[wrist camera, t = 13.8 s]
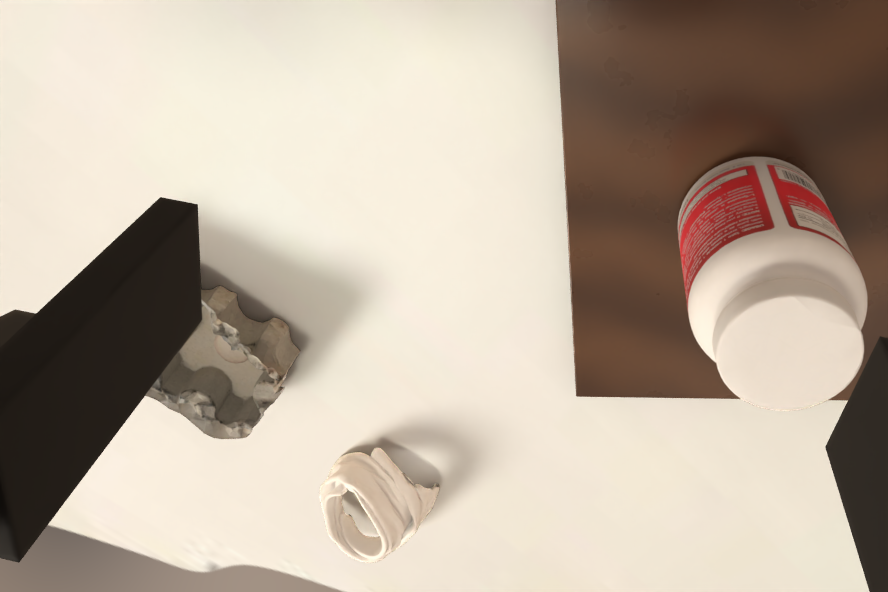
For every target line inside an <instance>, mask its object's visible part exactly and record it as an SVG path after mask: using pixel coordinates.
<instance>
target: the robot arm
mask: <svg viewBox="0 0 888 592" xmlns="http://www.w3.org/2000/svg"><path fill="white" fill-rule="evenodd" d="M201 321H202V299H201V275H200V251H199V226H198V204H192V203H187V202H182V201H177V200H172V199H167V198H161V197H160V198H159V199H158V200H157V201H156V202H155V203H154V204H153V205H152V206H151V207H150V208H149V209H147V210H146V211H145V212H144V213H143V214H142V215H141V216H140V217H139V218H138V219H137V220H136V221H135V222H134V223H133V224H131V225H130V226H129V227H128V228H127V229H126V230H125V231H124V232H123V233H122V234H121V235H120V236H119V237H118V238H117V239H115V240H114V241H113V242H112V243H111V244H110V245H109V246H108V247H107V248H106V249H105V250H104V251H103V252H102V253H101V254H99V255H98V256H97V257H96V258H95V259H94V260H93V261H92V262H91V263H90V264H89V265H88V266H87V267H86V268H85V269H83V270H82V271H81V272H80V273H79V274H78V275H77V276H76V277H75V278H74V279H73V280H72V281H71V282H70V283H69V284H67V285H66V286H65V287H64V288H63V289H62V290H61V291H60V292H59V293H58V294H57V295H56V296H55V297H54V298H53V299H51V300H50V301H49V302H48V303H47V304H46V305H45V306H44V307H43V308H42V309H41V310H40V311H39V312H38V313H37V314H34V313H29V312H24V311H20V310H13V311H11V312H9V313H7V314H5V315H3V316H1V317H0V558H2V559H6V560H11V561H15V562H20V560H21V559H22V558H23V557H24V555H25V554H26V553H27V551H28V550H29V549H30V547H31V546H32V545H33V543H34V542H35V541H36V539H37V538H38V537H39V535H40V534H41V533H42V531H43V530H44V529H45V527H46V526H47V525H48V524H49V522H50V521H51V520H52V518H53V517H54V516H55V514H56V513H57V512H58V510H59V509H60V508H61V506H62V505H63V504H64V502H65V501H66V500H67V498H68V497H69V496H70V494H71V493H72V492H73V490H74V489H75V488H76V486H77V485H78V484H79V482H80V481H81V480H82V478H83V477H84V476H85V474H86V473H87V472H88V470H89V469H90V468H91V466H92V465H93V464H94V463H95V461H96V460H97V459H98V457H99V456H100V455H101V453H102V452H103V451H104V449H105V448H106V447H107V445H108V444H109V443H110V441H111V440H112V439H113V437H114V436H115V435H116V433H117V432H118V431H119V429H120V428H121V427H122V425H123V424H124V423H125V421H126V420H127V419H128V417H129V416H130V415H131V413H132V412H133V411H134V409H135V408H136V407H137V405H138V404H139V403H140V402H141V400H142V399H143V398H144V396H145V395H146V394H147V392H148V391H149V390H150V388H151V387H152V386H153V384H154V383H155V382H156V380H157V379H158V378H159V376H160V375H161V374H162V372H163V371H164V370H165V368H166V367H167V366H168V364H169V363H170V362H171V360H172V359H173V358H174V356H175V355H176V354H177V352H178V351H179V350H180V348H181V347H182V346H183V344H184V343H185V342H186V340H187V339H188V338H189V337H190V335H191V334H192V333H193V331H194V330H195V329H196V327H197V326H198V325H199V323H200V322H201ZM826 451H827V454H828V457H829V460H830V464H831V467H832V470H833V473H834V477H835V480H836V483H837V486H838V490H839V493H840V496H841V499H842V503H843V506H844V509H845V513H846V516H847V519H848V522H849V526H850V529H851V532H852V535H853V539H854V542H855V545H856V548H857V552H858V555H859V558H860V561H861V565H862V568H863V571H864V574H865V578H866V581H867V584H868V588H869V591H870V592H888V338H886V337H881V336H880V337H879V339H878V341H877V343H876V345H875V347H874V349H873V351H872V353H871V355H870V357H869V359H868V361H867V363H866V366H865V368H864V370H863V372H862V374H861V376H860V378H859V380H858V382H857V384H856V386H855V388H854V390H853V392H852V394H851V396H850V398H849V400H848V402H847V404H846V406H845V408H844V410H843V412H842V414H841V416H840V418H839V420H838V422H837V424H836V426H835V428H834V430H833V432H832V435H831V437H830V439H829V441H828V443H827V445H826Z"/></svg>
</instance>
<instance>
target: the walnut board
mask: <svg viewBox="0 0 888 592" xmlns="http://www.w3.org/2000/svg"><path fill="white" fill-rule="evenodd" d="M556 17H557V36H558V55H559V75H560V94H561V113H562V132H563V151H564V171H565V190H566V209H567V228H568V248H569V267H570V286H571V305H572V324H573V344H574V363H575V382H576V396H579V397H650V398H721V399H741V398H739V397H738V396H736V395H735V394H734V393H733V392H732V391H731V390H730V389H729V388H728V387H727V386H726V384H725V383H724V381H723V380H722V378H721V376H720V373H719V371H718V368H717V363H716V362H714V361H713V360H712V359H711V358H710V357H709V356H708V355H707V354H706V353H705V352H704V351H703V349H702V348H701V347H700V345H699V344H698V342H697V340H696V338H695V336H694V334H693V331H692V328H691V325H690V321H689V316H688V310H687V300H686V293H685V285H684V278H683V270H682V263H681V255H680V247H679V239H678V217H679V212H680V209H681V206H682V203H683V201H684V199H685V197H686V195H687V194H688V192H689V190H690V189H691V188H692V187H693V185H694V184H695V183H696V182H697V181H698V180H699V179H700V178H701V177H702V176H703V175H704V174H706V173H707V172H708V171H710V170H712V169H713V168H715V167H717V166H719V165H721V164H723V163H726V162H729V161H731V160H735V159H739V158H744V157H770V158H776V159H779V160H782V161H785V162H788V163H790V164H792V165H794V166H796V167H797V168H799V169H800V170H802V171H803V172H804V173H806V174H807V175H808V176H809V177H810V178H811V179H812V181H813V182H814V183H815V185H816V186H817V188H818V189H819V191H820V192H821V194H822V196H823V198H824V200H825V202H826V204H827V206H828V208H829V210H830V212H831V214H832V216H833V218H834V220H835V222H836V224H837V226H838V228H839V230H840V232H841V234H842V235H843V237H844V240H845V241H846V243H847V246H848V248H849V250H850V252H851V253H852V255H853V257H854V259H855V261H856V263H857V265H858V267H859V269H860V271H861V273H862V276H863V279H864V281H865V285H866V290H867V313H866V318H865V321H864V324H863V327H862V329H861V332H862V335H863V340H864V356H863V360H862V364H861V366H860V368H859V371H858V372H857V374H856V376H855V377H854V378H853V380H852V381H851V382H850V384H849V385H848V386H847V387H846V388H845V389H843V390H842V391H841V392H840V393H838V394H837V395H836V396H834V397H832V398H831V399H829V400H849V398H850V396H851V394H852V392H853V390H854V388H855V386H856V384H857V382H858V380H859V378H860V376H861V374H862V372H863V370H864V368H865V366H866V363H867V361H868V359H869V357H870V355H871V353H872V351H873V349H874V347H875V345H876V343H877V341H878V339H879V337H880V336H881V337H886V338H888V0H556Z"/></svg>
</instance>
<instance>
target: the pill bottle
mask: <svg viewBox="0 0 888 592" xmlns="http://www.w3.org/2000/svg"><path fill="white" fill-rule="evenodd" d="M678 239H679V247H680V255H681V263H682V270H683V278H684V285H685V293H686V300H687V310H688V316H689V321H690V325H691V328H692V331H693V334H694V336H695V338H696V340H697V342H698V344H699V345H700V347H701V348H702V349H703V351H704V352H705V353H706V354H707V355H708V356H709V357H710V358H711V359H712V360H713V361H714V362H716V363H717V368H718V371H719V373H720V376H721V378H722V380H723V381H724V383H725V384H726V386H727V387H728V388H729V389H730V390H731V391H732V392H733V393H734V394H735V395H736V396H738V397H739V398H741V399H742V400H744V401H746V402H748V403H750V404H752V405H754V406H757V407H760V408H765V409H770V410H779V411H791V410H800V409H804V408H809V407H812V406H816V405H818V404H821V403H823V402H825V401H827V400H829V399H831V398H832V397H834V396H836V395H837V394H838V393H840V392H841V391H842V390H843V389H845V388H846V387H847V386H848V385H849V384H850V382H851V381H852V380H853V378H854V377H855V376H856V374H857V372H858V371H859V368H860V366H861V364H862V360H863V356H864V340H863V335H862V332H861V329H862V327H863V324H864V321H865V318H866V313H867V290H866V285H865V281H864V279H863V276H862V273H861V271H860V269H859V267H858V265H857V263H856V261H855V259H854V257H853V255H852V253H851V252H850V250H849V248H848V246H847V243H846V241H845V240H844V237H843V235H842V234H841V232H840V230H839V228H838V226H837V224H836V222H835V220H834V218H833V216H832V214H831V212H830V210H829V208H828V206H827V204H826V202H825V200H824V198H823V196H822V194H821V192H820V191H819V189H818V188H817V186H816V185H815V183H814V182H813V181H812V179H811V178H810V177H809V176H808V175H807V174H806V173H804V172H803V171H802V170H800V169H799V168H797V167H796V166H794V165H792V164H790V163H788V162H785V161H782V160H779V159H776V158H770V157H744V158H739V159H735V160H731V161H729V162H726V163H723V164H721V165H719V166H717V167H715V168H713V169H712V170H710V171H708V172H707V173H706V174H704V175H703V176H702V177H701V178H700V179H699V180H698V181H697V182H696V183H695V184H694V185H693V187H692V188H691V189H690V190H689V192H688V194H687V195H686V197H685V199H684V201H683V203H682V206H681V209H680V212H679V217H678Z"/></svg>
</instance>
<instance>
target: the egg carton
mask: <svg viewBox="0 0 888 592" xmlns="http://www.w3.org/2000/svg"><path fill="white" fill-rule="evenodd" d="M201 299H202V321H201V322H200V323H199V325H198V326H197V327H196V329H195V330H194V331H193V333H192V334H191V335H190V337H189V338H188V339H187V340H186V342H185V343H184V344H183V346H182V347H181V348H180V350H179V351H178V352H177V354H176V355H175V356H174V358H173V359H172V360H171V362H170V363H169V364H168V366H167V367H166V368H165V370H164V371H163V372H162V374H161V375H160V376H159V378H158V379H157V380H156V382H155V383H154V384H153V386H152V387H151V388H150V390H149V391H148V392H147V394H146V395H145V396H148V397H151V398H154V399H156V400H158V401H159V402H161V403H162V404H164V405H165V406H166V407H168V408H169V409H171V410H174V411H176V412H178V413H181V414H182V415H183V416H185V417H186V418H187V419H188V420H190V421H191V422H192V423H193V424H194V425H195V426H196V427H198V428H199V429H200V430H201V431H202V432H203V433H205V434H207V435H209V436H211V437H213V438H219V439H236V438H245V437H247V436H248V435H249V434H250V433H251V432H252V428H253V427H254V426H255V425H256V424H257V423H258V422H259V421H260V419H261V418H262V416H263V415H264V414H263V413H264V411H265V410H266V409H267V408H268V407H269V406H270V405H271V404H272V403H274V402H275V400H276V399H277V398H278V396H279V395H280V394H281V392H282V391H283V390H284V387H280V386H281V384H282V383H283V382H284V379H285V378H286V376H287V372H288V370H289V369H290V367H291V365H292V364H293V362H294V360H295V359H296V357H297V356H298V355H299V352H300V351H299V349H298V348H297V347H296V346H295V345H294V344H293V343H292V341H291V338H290V334H289V331H290V329H289V327H288V326H287V324H286V323H284V322H283V321H282V320H280V319H278V318H272V319H270V320H268V321H265V322H263V323H260V322H257V321H254V320H252V319H249V318H247V317H246V316H245V315H244V314H243V313H242V312H241V309H240V308H239V307H238V301H237V294H236V293H234V292H231V291H228V290H227V289H226V288H224V287H222V286H217V287H216V288H214V289H212V290H203V289H201Z"/></svg>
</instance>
